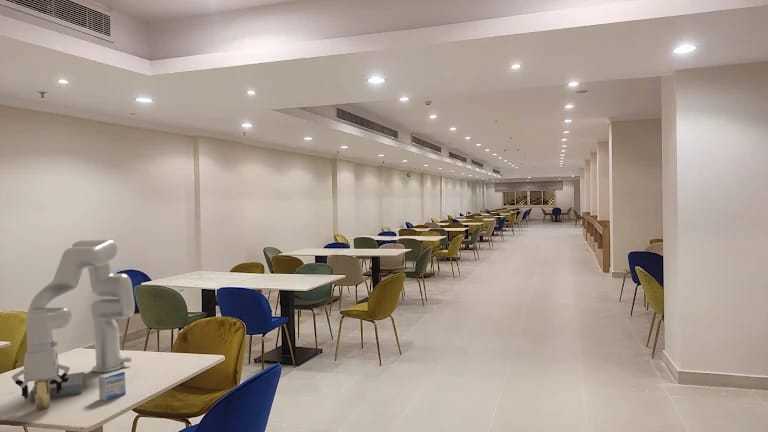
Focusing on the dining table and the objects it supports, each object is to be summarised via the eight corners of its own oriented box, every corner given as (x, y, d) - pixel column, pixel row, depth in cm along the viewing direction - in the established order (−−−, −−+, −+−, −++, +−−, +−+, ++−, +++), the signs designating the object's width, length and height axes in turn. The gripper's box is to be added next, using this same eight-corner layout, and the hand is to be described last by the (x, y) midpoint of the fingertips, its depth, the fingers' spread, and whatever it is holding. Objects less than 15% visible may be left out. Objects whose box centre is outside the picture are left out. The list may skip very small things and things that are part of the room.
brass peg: (51, 405, 186) (49, 377, 185) (49, 409, 182) (48, 381, 181) (36, 407, 184) (35, 379, 183) (34, 411, 180) (33, 383, 179)
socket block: (84, 381, 211) (84, 371, 211) (81, 393, 196) (80, 383, 196) (38, 388, 204) (38, 378, 204) (31, 401, 189) (30, 391, 189)
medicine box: (105, 401, 188) (104, 377, 188) (99, 399, 190) (98, 375, 190) (126, 394, 194) (125, 371, 194) (119, 392, 197) (118, 369, 197)
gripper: (69, 341, 189) (71, 387, 190) (13, 348, 182) (15, 396, 182) (67, 346, 183) (69, 393, 183) (8, 353, 175) (10, 403, 175)
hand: (42, 394), depth 182 cm, fingers open, 9 cm apart
